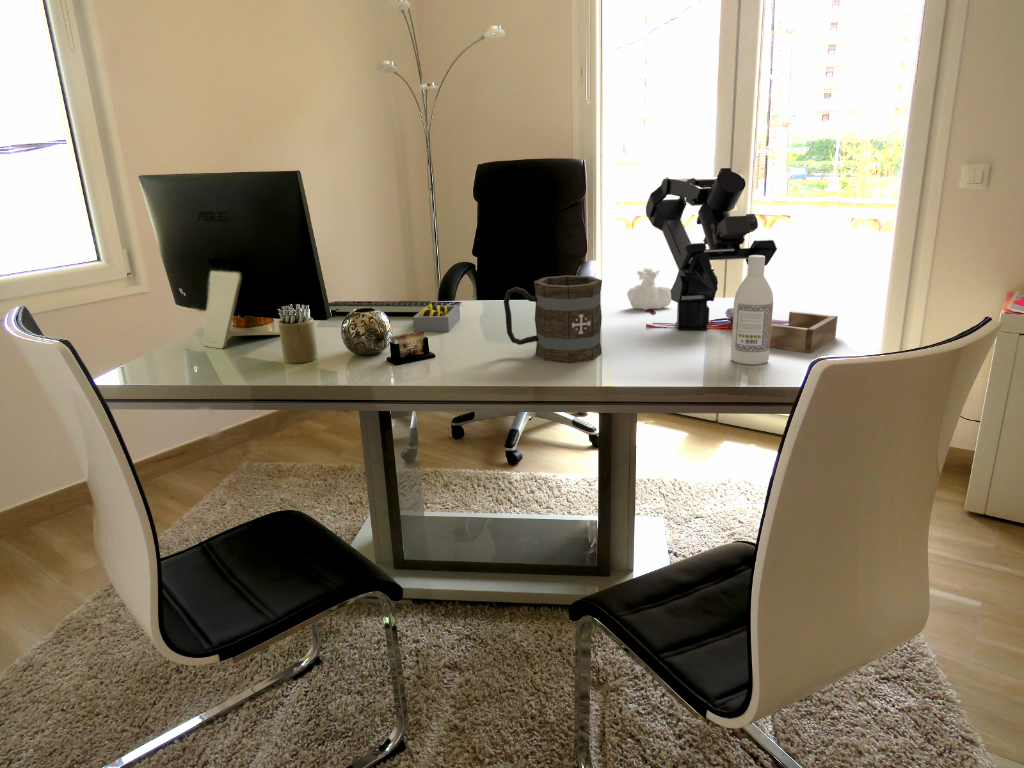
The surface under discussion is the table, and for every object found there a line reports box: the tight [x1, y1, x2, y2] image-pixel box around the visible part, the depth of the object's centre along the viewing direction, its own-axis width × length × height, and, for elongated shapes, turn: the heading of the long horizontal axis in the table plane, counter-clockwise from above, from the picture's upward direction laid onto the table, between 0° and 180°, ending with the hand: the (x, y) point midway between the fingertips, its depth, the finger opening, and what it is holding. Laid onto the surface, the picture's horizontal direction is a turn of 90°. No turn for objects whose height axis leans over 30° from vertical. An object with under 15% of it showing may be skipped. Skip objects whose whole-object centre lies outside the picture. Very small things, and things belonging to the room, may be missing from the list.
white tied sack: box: [626, 267, 672, 311], centre depth 189 cm, size 12×8×11 cm
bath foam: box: [730, 255, 774, 366], centre depth 137 cm, size 7×7×20 cm
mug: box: [503, 274, 603, 364], centre depth 146 cm, size 20×14×15 cm
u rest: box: [770, 310, 838, 354], centre depth 151 cm, size 10×15×5 cm, turn 140°
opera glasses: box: [420, 303, 448, 316], centre depth 176 cm, size 10×5×5 cm, turn 173°
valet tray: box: [412, 305, 461, 333], centre depth 176 cm, size 8×13×4 cm, turn 173°
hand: (738, 289), depth 142 cm, fingers open, 9 cm apart
